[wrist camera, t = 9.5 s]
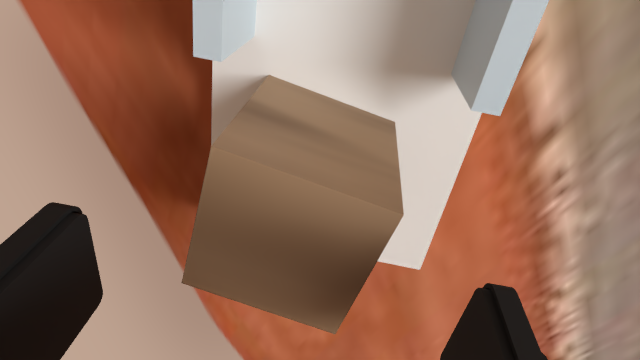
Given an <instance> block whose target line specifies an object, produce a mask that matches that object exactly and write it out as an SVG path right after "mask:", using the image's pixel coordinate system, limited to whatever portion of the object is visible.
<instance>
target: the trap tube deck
mask: <svg viewBox="0 0 640 360" xmlns="http://www.w3.org/2000/svg"><path fill="white" fill-rule="evenodd" d="M548 1H549V0H193V57H198V58H203V59H208V60H212V126H211V146H212V144H213V143H214V142H215V141H216V139H217V138H218V137H219V136H220V134H221V133H222V132H223V131H224V130H225V128H226V127H227V126H228V125H229V123H230V122H231V121H232V120H233V119H234V117H235V116H236V115H237V114H238V112H239V111H240V110H241V109H242V107H243V106H244V105H245V104H246V103H247V101H248V100H249V99H250V98H251V96H252V95H253V94H254V93H255V91H256V90H257V89H258V88H259V87H260V85H261V84H262V83H263V82H264V80H265V79H266V78H267V77H268V76H269V75H271V76H274V77H276V78H279V79H282V80H284V81H287V82H290V83H292V84H295V85H298V86H300V87H303V88H306V89H308V90H311V91H314V92H316V93H319V94H322V95H324V96H327V97H330V98H332V99H335V100H338V101H340V102H343V103H346V104H348V105H351V106H354V107H356V108H359V109H362V110H364V111H367V112H370V113H372V114H375V115H378V116H380V117H383V118H386V119H388V120H391V121H394V122H395V127H396V137H397V148H398V158H399V169H400V180H401V190H402V201H403V211H404V216H403V217H402V219H401V221H400V222H399V224H398V226H397V228H396V229H395V231H394V233H393V235H392V236H391V238H390V240H389V242H388V243H387V245H386V247H385V249H384V250H383V252H382V254H381V255H380V257H379V259H378V261H379V262H384V263H389V264H394V265H399V266H404V267H409V268H414V269H418V270H420V268H421V266H422V263H423V261H424V258H425V256H426V253H427V251H428V248H429V246H430V243H431V240H432V238H433V235H434V233H435V230H436V228H437V225H438V223H439V220H440V218H441V215H442V213H443V210H444V208H445V205H446V202H447V200H448V197H449V195H450V192H451V190H452V187H453V185H454V182H455V180H456V177H457V175H458V172H459V170H460V167H461V164H462V162H463V159H464V157H465V154H466V152H467V149H468V147H469V144H470V142H471V139H472V137H473V134H474V132H475V129H476V126H477V124H478V121H479V119H480V116H481V114H482V113H487V114H492V115H497V116H500V115H501V113H502V110H503V108H504V106H505V103H506V101H507V98H508V96H509V94H510V91H511V89H512V87H513V84H514V82H515V80H516V77H517V75H518V72H519V70H520V68H521V65H522V63H523V61H524V58H525V56H526V53H527V51H528V49H529V46H530V44H531V42H532V39H533V37H534V34H535V32H536V30H537V27H538V25H539V23H540V20H541V18H542V16H543V13H544V11H545V8H546V6H547V4H548Z"/></svg>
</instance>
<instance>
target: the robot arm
mask: <svg viewBox="0 0 640 360" xmlns="http://www.w3.org/2000/svg"><path fill="white" fill-rule="evenodd" d="M102 295H103V290H102V285H101V280H100V275H99V270H98V265H97V260H96V256H95V251H94V246H93V241H92V236H91V232H90V227H89V222H88V218H87V216H86V215H84V214H82V211H81V209H80V208H79V207H75V206H70V205H65V204H59V203H49V204H47V205H46V206H44V207H43V208H42V209H41V210H40V211H39V212H38V213H36V214H35V215H34V216H33V217H32V218H31V219H29V220H28V221H27V222H26V223H25V224H24V225H23V226H21V227H20V228H19V229H18V230H17V231H16V232H15V233H13V234H12V235H11V236H10V237H9V238H8V239H6V240H5V241H4V242H3V243H2V244H1V245H0V360H60V359H61V358H62V356H63V355H64V354H65V352H66V351H67V349H68V348H69V347H70V345H71V344H72V342H73V341H74V339H75V338H76V337H77V335H78V334H79V332H80V331H81V330H82V328H83V327H84V325H85V324H86V323H87V321H88V320H89V318H90V317H91V315H92V314H93V313H94V311H95V310H96V309H97V307H98V305H99V304H100V302H101V299H102ZM440 360H548V359H547V358H546V356H545V355H544V354H543V353H542V352H541V351H540V348H539V346H538V343H537V341H536V338H535V336H534V333H533V331H532V329H531V326H530V324H529V321H528V319H527V316H526V314H525V311H524V309H523V306H522V304H521V302H520V299H519V297H518V294H517V292H516V291H515V289H514V288H512V287H506V286H501V285H496V284H490V283H487V284H485V285H484V287H483V288H477V289H476V290H475V292H474V294H473V296H472V298H471V300H470V301H469V303H468V305H467V307H466V309H465V311H464V313H463V315H462V316H461V318H460V320H459V322H458V324H457V326H456V328H455V330H454V331H453V333H452V335H451V337H450V339H449V341H448V343H447V345H446V346H445V348H444V350H443V352H442V354H441V358H440Z"/></svg>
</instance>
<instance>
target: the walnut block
mask: <svg viewBox="0 0 640 360" xmlns="http://www.w3.org/2000/svg"><path fill="white" fill-rule="evenodd" d="M403 216H404V211H403V201H402V190H401V180H400V169H399V158H398V148H397V137H396V127H395V122H394V121H391V120H388V119H386V118H383V117H380V116H378V115H375V114H372V113H370V112H367V111H364V110H362V109H359V108H356V107H354V106H351V105H348V104H346V103H343V102H340V101H338V100H335V99H332V98H330V97H327V96H324V95H322V94H319V93H316V92H314V91H311V90H308V89H306V88H303V87H300V86H298V85H295V84H292V83H290V82H287V81H284V80H282V79H279V78H276V77H274V76H271V75H269V76H268V77H267V78H266V79H265V80H264V82H263V83H262V84H261V85H260V87H259V88H258V89H257V90H256V91H255V93H254V94H253V95H252V96H251V98H250V99H249V100H248V101H247V103H246V104H245V105H244V106H243V107H242V109H241V110H240V111H239V112H238V114H237V115H236V116H235V117H234V119H233V120H232V121H231V122H230V123H229V125H228V126H227V127H226V128H225V130H224V131H223V132H222V133H221V134H220V136H219V137H218V138H217V139H216V141H215V142H214V143H213V144H212V146H211V149H210V154H209V159H208V163H207V168H206V173H205V177H204V182H203V186H202V191H201V196H200V200H199V205H198V210H197V214H196V219H195V223H194V228H193V233H192V237H191V242H190V247H189V251H188V256H187V260H186V265H185V270H184V274H183V279H182V283H183V284H186V285H189V286H192V287H195V288H198V289H201V290H204V291H207V292H210V293H213V294H216V295H219V296H222V297H225V298H228V299H231V300H234V301H237V302H240V303H243V304H246V305H249V306H252V307H255V308H258V309H261V310H264V311H267V312H270V313H273V314H276V315H279V316H282V317H285V318H288V319H291V320H294V321H297V322H300V323H303V324H306V325H309V326H312V327H315V328H318V329H321V330H324V331H327V332H330V333H333V334H336V332H337V330H338V328H339V327H340V325H341V323H342V322H343V320H344V318H345V316H346V315H347V313H348V311H349V309H350V308H351V306H352V304H353V302H354V301H355V299H356V297H357V295H358V294H359V292H360V290H361V289H362V287H363V285H364V283H365V282H366V280H367V278H368V276H369V275H370V273H371V271H372V269H373V268H374V266H375V264H376V262H377V261H378V259H379V257H380V255H381V254H382V252H383V250H384V249H385V247H386V245H387V243H388V242H389V240H390V238H391V236H392V235H393V233H394V231H395V229H396V228H397V226H398V224H399V222H400V221H401V219H402V217H403Z"/></svg>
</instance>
